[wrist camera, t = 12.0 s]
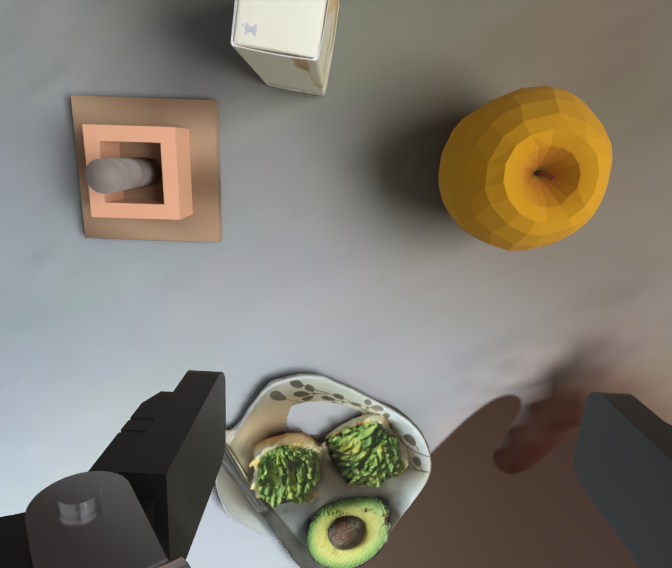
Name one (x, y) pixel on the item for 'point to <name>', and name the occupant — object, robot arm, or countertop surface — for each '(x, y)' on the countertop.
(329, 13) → the skincare box
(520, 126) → the apple
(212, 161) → the post stand
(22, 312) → the countertop surface
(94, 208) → the ring
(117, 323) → the countertop surface
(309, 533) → the avocado toast plate
